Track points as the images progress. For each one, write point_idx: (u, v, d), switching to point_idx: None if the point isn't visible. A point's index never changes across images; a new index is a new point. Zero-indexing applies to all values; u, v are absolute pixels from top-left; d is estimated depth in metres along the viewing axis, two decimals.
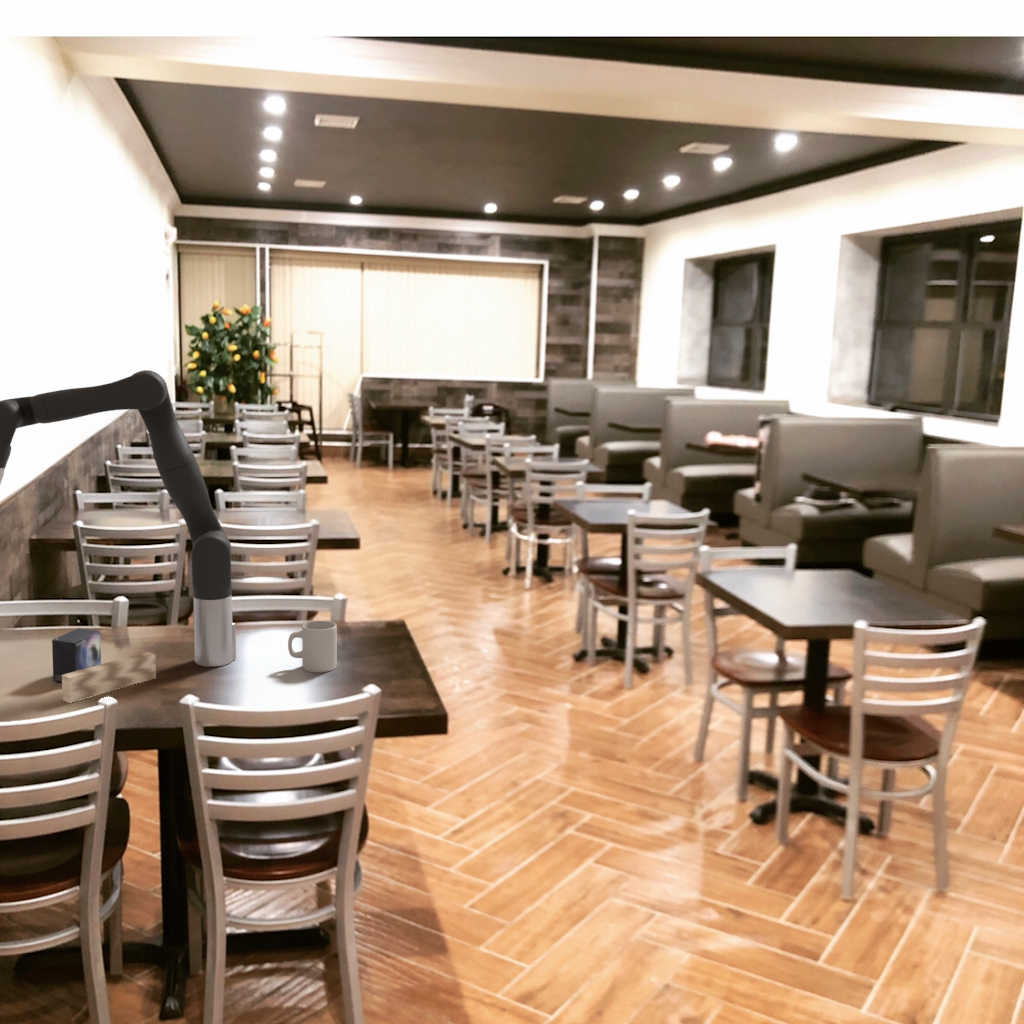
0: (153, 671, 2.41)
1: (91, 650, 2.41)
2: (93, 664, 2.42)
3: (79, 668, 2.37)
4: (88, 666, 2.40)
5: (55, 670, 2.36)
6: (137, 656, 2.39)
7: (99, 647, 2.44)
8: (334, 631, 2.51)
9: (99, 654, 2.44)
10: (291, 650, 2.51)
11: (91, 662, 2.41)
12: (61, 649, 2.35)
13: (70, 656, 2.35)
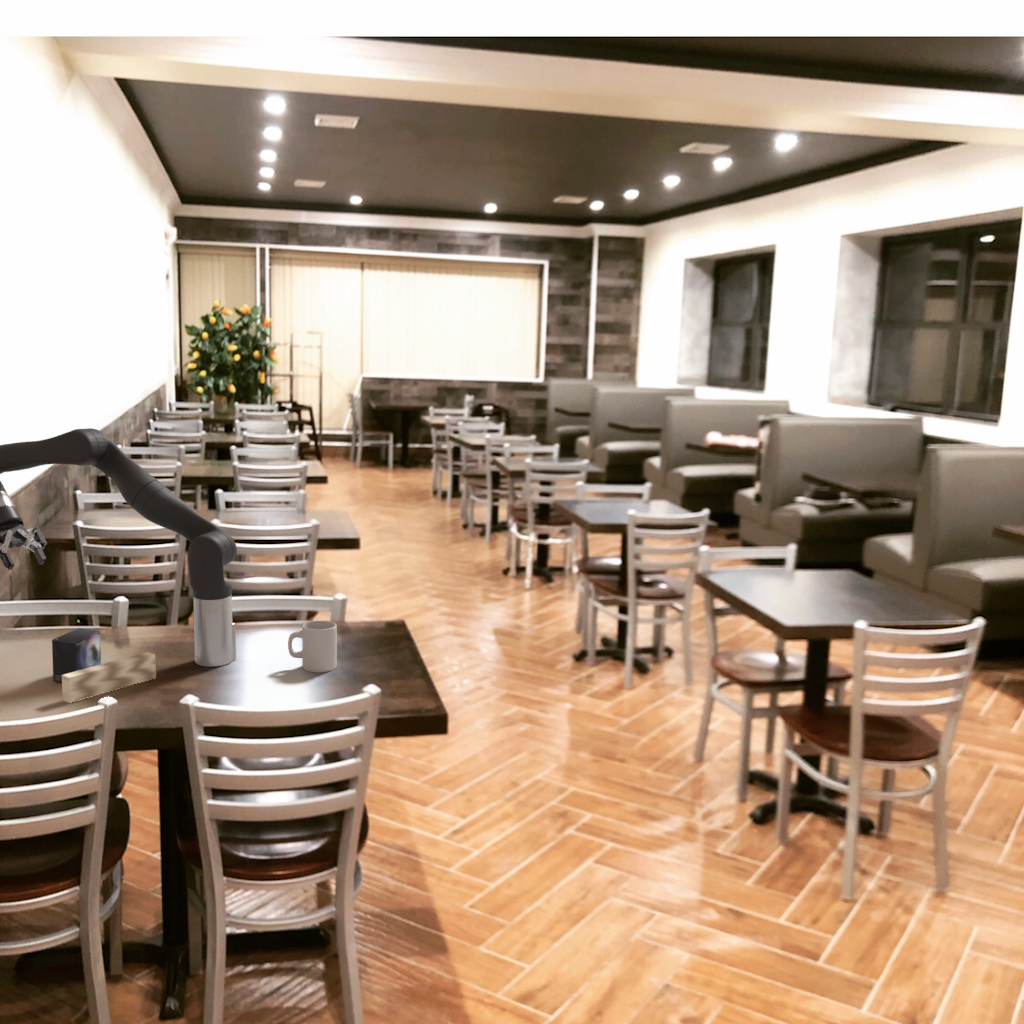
0: (153, 671, 2.41)
1: (91, 650, 2.41)
2: (93, 664, 2.42)
3: (79, 668, 2.37)
4: (88, 666, 2.40)
5: (55, 670, 2.36)
6: (137, 656, 2.39)
7: (99, 647, 2.44)
8: (334, 631, 2.51)
9: (99, 654, 2.44)
10: (291, 650, 2.51)
11: (91, 662, 2.41)
12: (61, 649, 2.35)
13: (70, 656, 2.35)
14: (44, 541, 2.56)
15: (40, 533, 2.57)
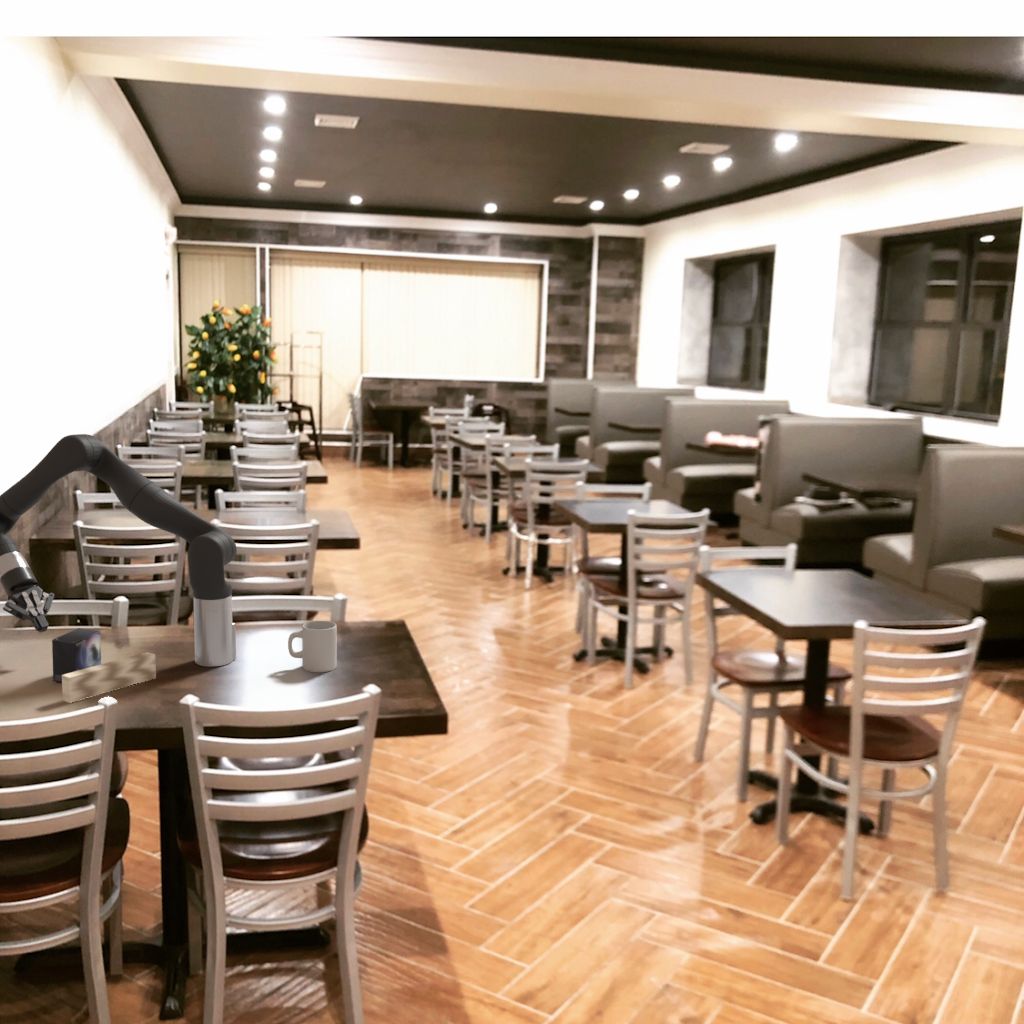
0: (153, 671, 2.41)
1: (91, 650, 2.41)
2: (93, 664, 2.42)
3: (79, 668, 2.37)
4: (88, 666, 2.40)
5: (55, 670, 2.36)
6: (137, 656, 2.39)
7: (99, 647, 2.44)
8: (334, 631, 2.51)
9: (99, 654, 2.44)
10: (291, 650, 2.51)
11: (91, 662, 2.41)
12: (61, 649, 2.35)
13: (70, 656, 2.35)
14: (47, 607, 2.52)
15: (50, 599, 2.53)
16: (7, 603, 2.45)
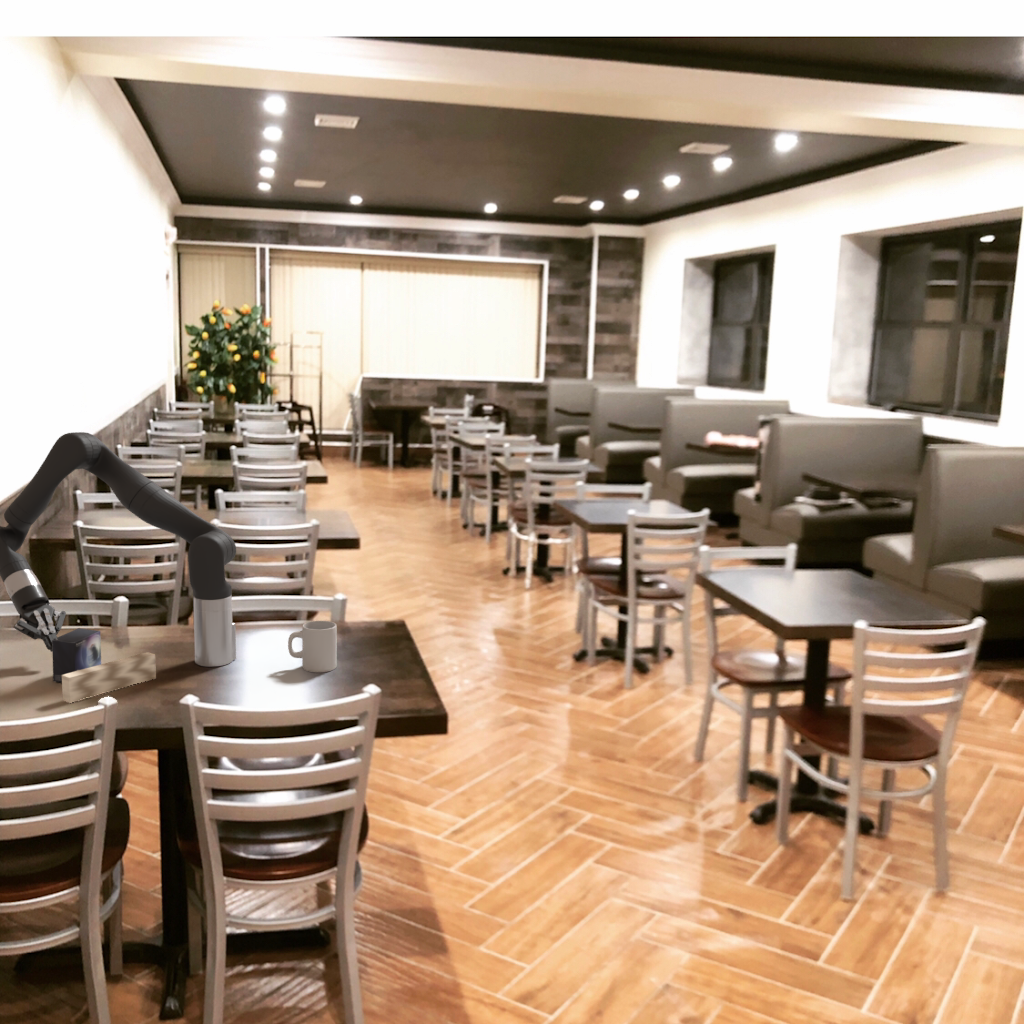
0: (153, 671, 2.41)
1: (91, 650, 2.41)
2: (93, 664, 2.42)
3: (79, 668, 2.37)
4: (88, 666, 2.40)
5: (55, 670, 2.36)
6: (137, 656, 2.39)
7: (99, 647, 2.44)
8: (334, 631, 2.51)
9: (99, 654, 2.44)
10: (291, 650, 2.51)
11: (91, 662, 2.41)
12: (61, 649, 2.35)
13: (70, 656, 2.35)
14: (59, 626, 2.49)
15: (62, 618, 2.51)
16: (19, 622, 2.43)
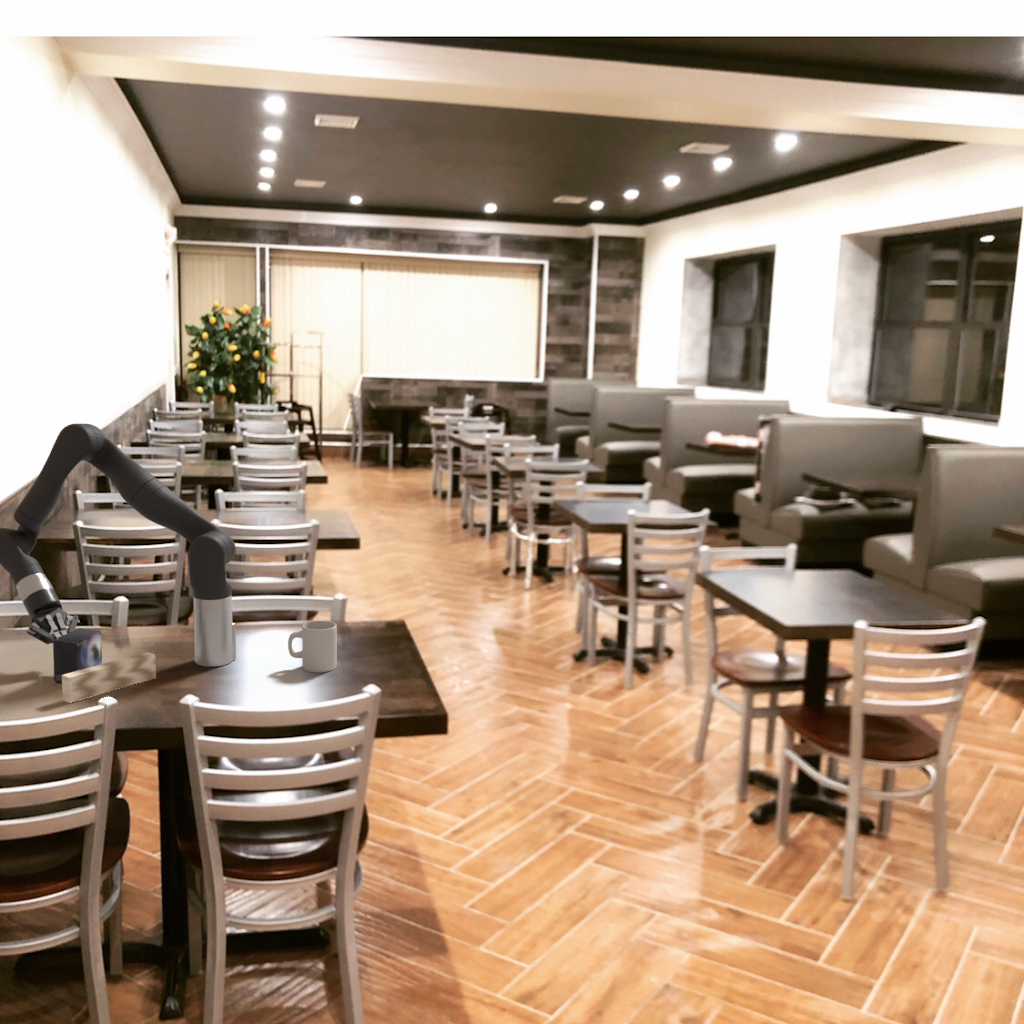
0: (153, 671, 2.41)
1: (92, 650, 2.41)
2: (94, 664, 2.42)
3: (80, 668, 2.36)
4: (88, 666, 2.40)
5: (56, 670, 2.36)
6: (137, 656, 2.39)
7: (100, 647, 2.44)
8: (334, 631, 2.51)
9: (100, 654, 2.44)
10: (291, 650, 2.51)
11: (92, 662, 2.41)
12: (62, 649, 2.35)
13: (71, 656, 2.35)
14: None
15: (74, 622, 2.48)
16: (31, 626, 2.40)
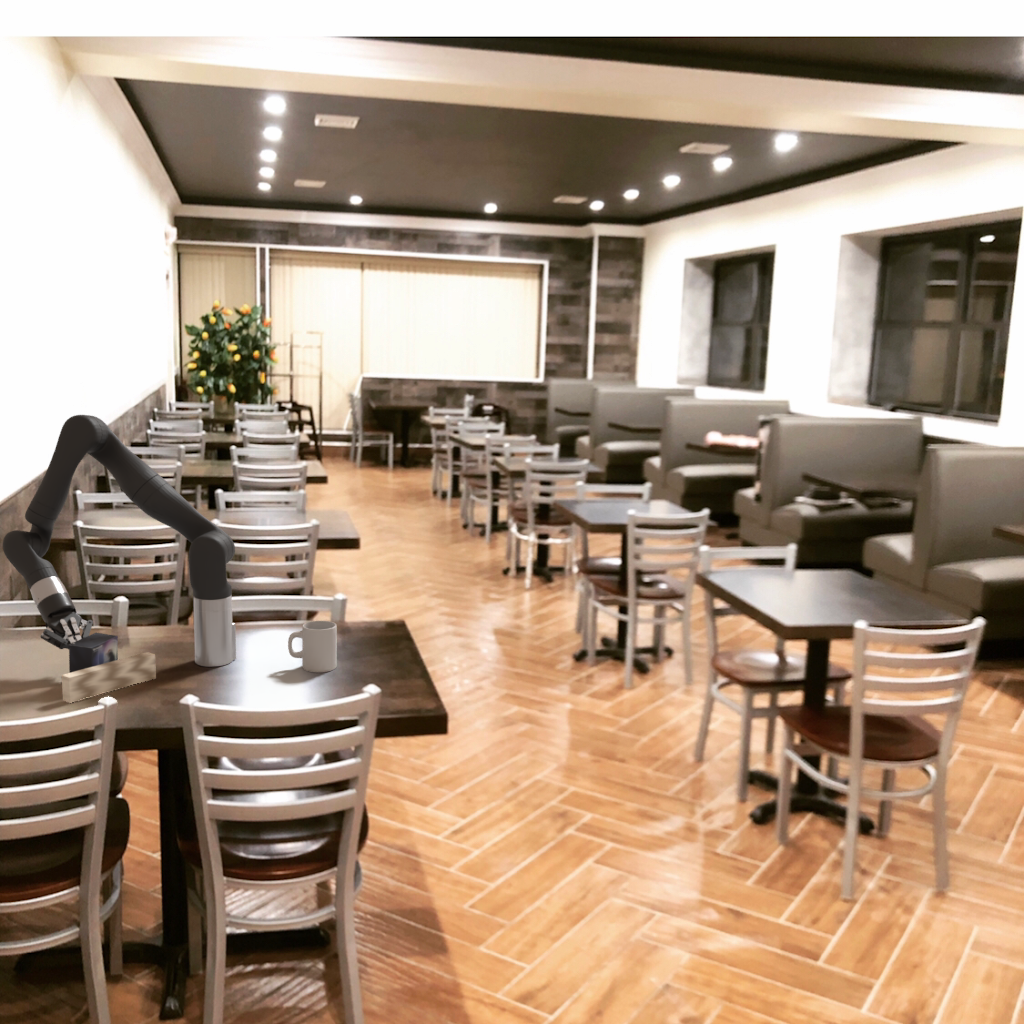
0: (153, 671, 2.41)
1: (108, 655, 2.37)
2: None
3: None
4: None
5: None
6: (137, 656, 2.39)
7: (116, 652, 2.40)
8: (334, 631, 2.51)
9: (116, 659, 2.41)
10: (291, 650, 2.51)
11: None
12: (78, 654, 2.32)
13: (87, 661, 2.31)
14: (86, 636, 2.42)
15: (89, 627, 2.44)
16: (45, 631, 2.36)
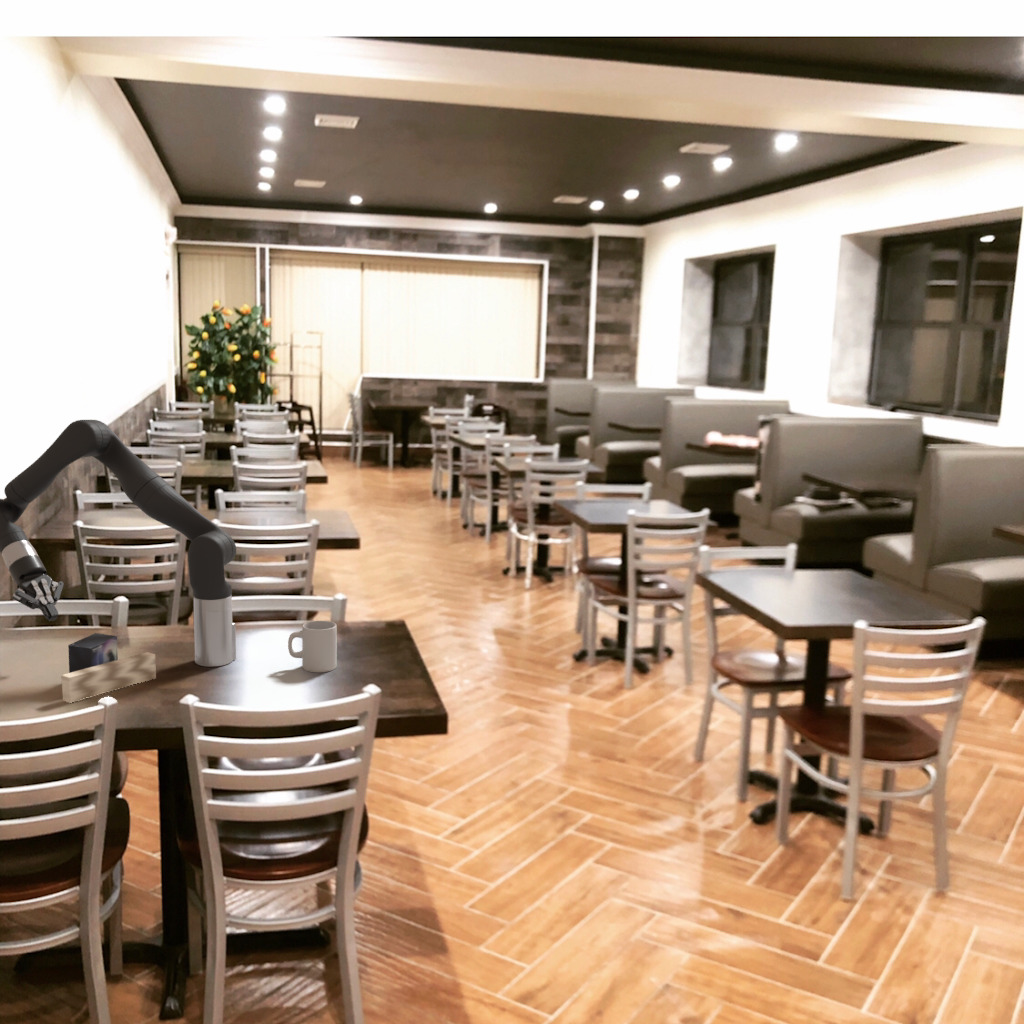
0: (153, 671, 2.41)
1: (108, 656, 2.37)
2: None
3: None
4: None
5: None
6: (137, 656, 2.39)
7: (116, 652, 2.40)
8: (334, 631, 2.51)
9: (116, 659, 2.41)
10: (291, 650, 2.51)
11: None
12: (77, 654, 2.32)
13: (87, 662, 2.31)
14: (57, 596, 2.49)
15: (60, 588, 2.51)
16: (16, 592, 2.43)
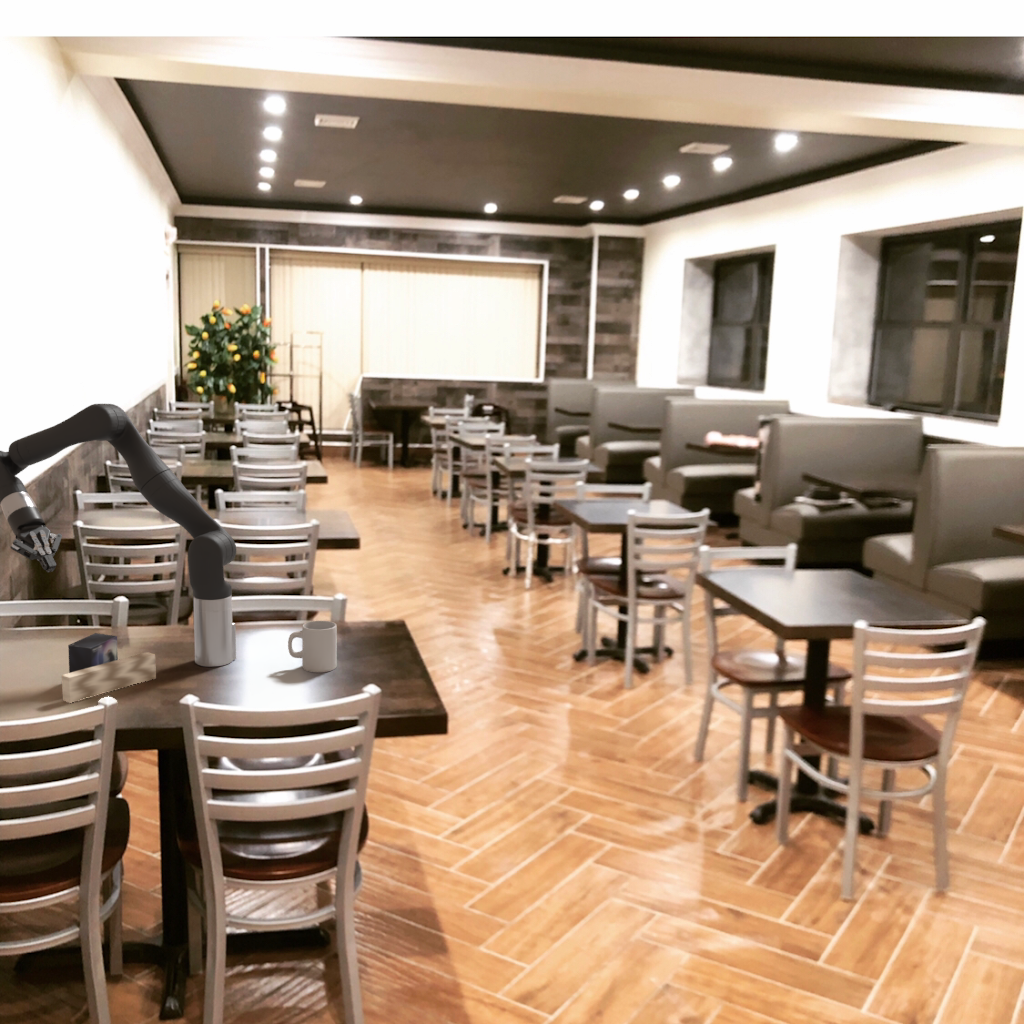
0: (153, 671, 2.41)
1: (108, 656, 2.37)
2: None
3: None
4: None
5: None
6: (137, 656, 2.39)
7: (116, 652, 2.40)
8: (334, 631, 2.51)
9: (116, 659, 2.41)
10: (291, 650, 2.51)
11: None
12: (77, 654, 2.32)
13: (87, 662, 2.31)
14: (55, 548, 2.49)
15: (58, 540, 2.51)
16: (15, 541, 2.43)
